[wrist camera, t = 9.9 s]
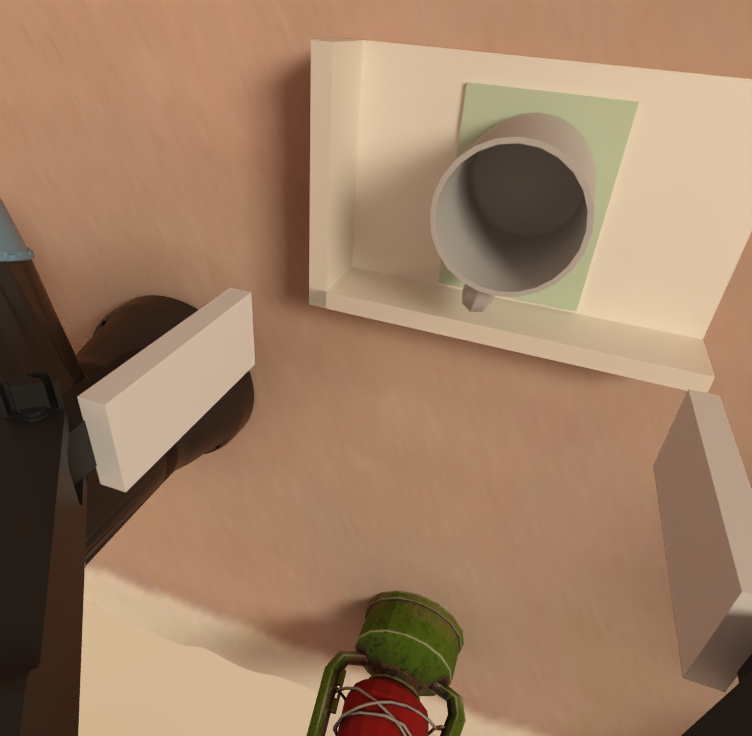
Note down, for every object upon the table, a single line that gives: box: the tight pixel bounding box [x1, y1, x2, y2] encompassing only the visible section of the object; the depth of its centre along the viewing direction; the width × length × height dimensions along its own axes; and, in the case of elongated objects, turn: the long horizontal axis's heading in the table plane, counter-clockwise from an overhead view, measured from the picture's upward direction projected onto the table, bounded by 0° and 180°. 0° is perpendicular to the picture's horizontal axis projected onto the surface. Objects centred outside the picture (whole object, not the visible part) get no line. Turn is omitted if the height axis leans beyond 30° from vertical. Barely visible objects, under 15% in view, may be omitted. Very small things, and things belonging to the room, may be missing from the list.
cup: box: [430, 112, 596, 312], centre depth 29 cm, size 7×10×9 cm
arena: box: [309, 38, 752, 393], centre depth 32 cm, size 24×15×5 cm, turn 86°
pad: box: [438, 82, 639, 311], centre depth 33 cm, size 9×12×1 cm
